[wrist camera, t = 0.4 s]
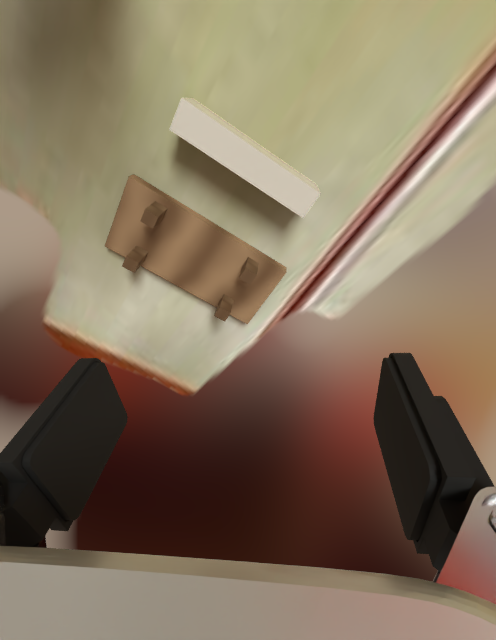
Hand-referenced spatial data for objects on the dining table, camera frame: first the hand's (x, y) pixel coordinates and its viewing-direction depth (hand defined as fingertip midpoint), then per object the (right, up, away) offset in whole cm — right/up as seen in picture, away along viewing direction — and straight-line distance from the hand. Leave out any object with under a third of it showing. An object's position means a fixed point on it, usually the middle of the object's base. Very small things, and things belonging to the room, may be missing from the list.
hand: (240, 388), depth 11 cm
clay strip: (+1, +21, +25) cm, 33 cm away
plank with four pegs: (-7, +11, +32) cm, 35 cm away
